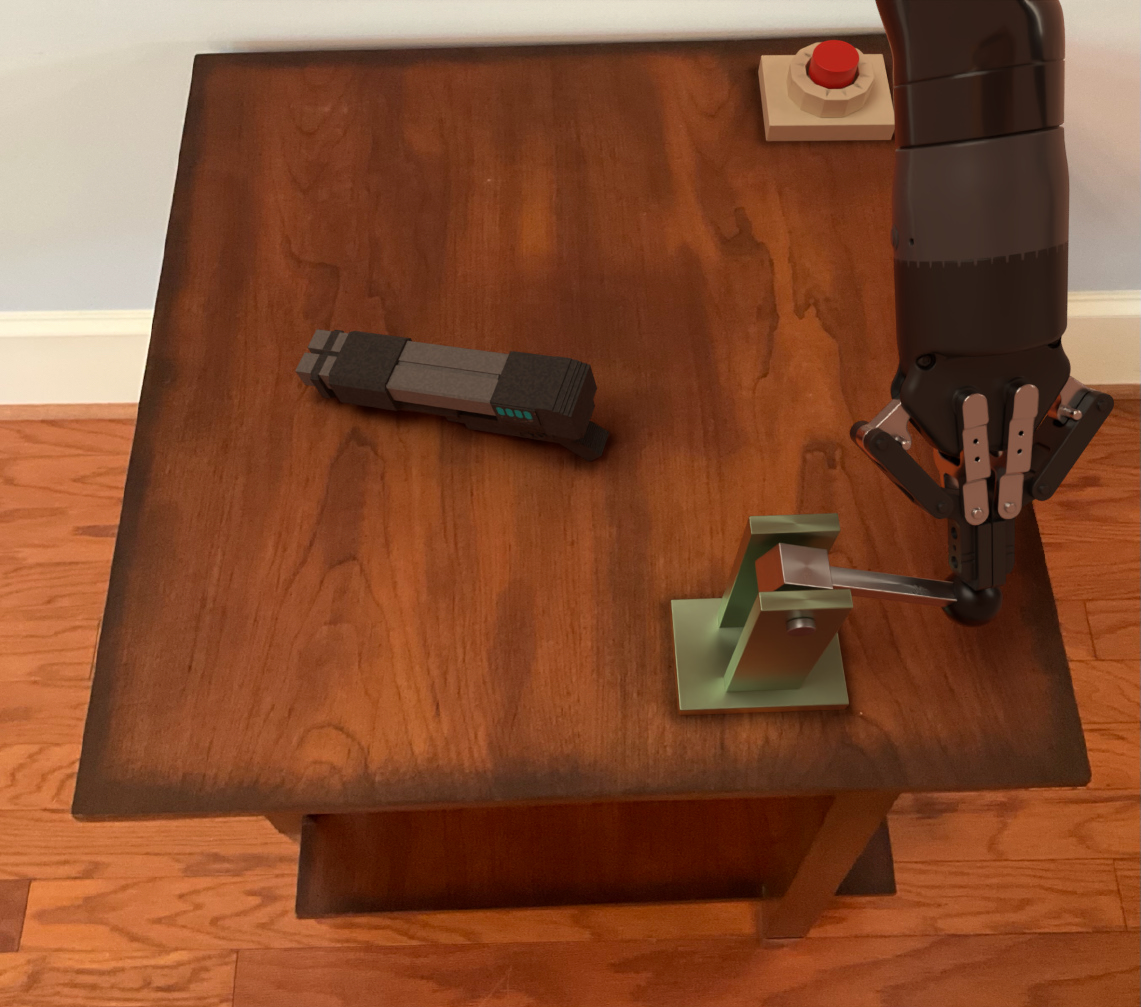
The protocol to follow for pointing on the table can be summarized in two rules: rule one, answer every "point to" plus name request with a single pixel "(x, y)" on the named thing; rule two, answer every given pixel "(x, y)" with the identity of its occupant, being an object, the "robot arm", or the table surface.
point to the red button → (833, 64)
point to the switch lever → (875, 584)
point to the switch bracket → (763, 633)
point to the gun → (460, 386)
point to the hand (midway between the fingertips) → (982, 582)
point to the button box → (824, 101)
